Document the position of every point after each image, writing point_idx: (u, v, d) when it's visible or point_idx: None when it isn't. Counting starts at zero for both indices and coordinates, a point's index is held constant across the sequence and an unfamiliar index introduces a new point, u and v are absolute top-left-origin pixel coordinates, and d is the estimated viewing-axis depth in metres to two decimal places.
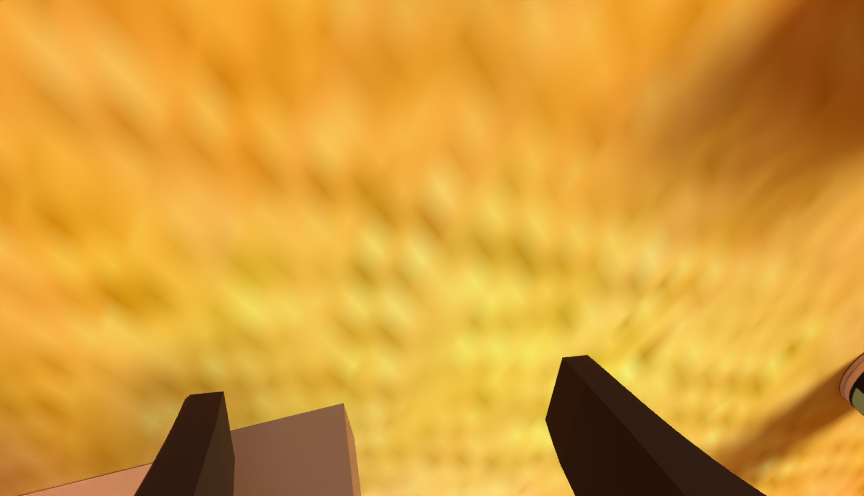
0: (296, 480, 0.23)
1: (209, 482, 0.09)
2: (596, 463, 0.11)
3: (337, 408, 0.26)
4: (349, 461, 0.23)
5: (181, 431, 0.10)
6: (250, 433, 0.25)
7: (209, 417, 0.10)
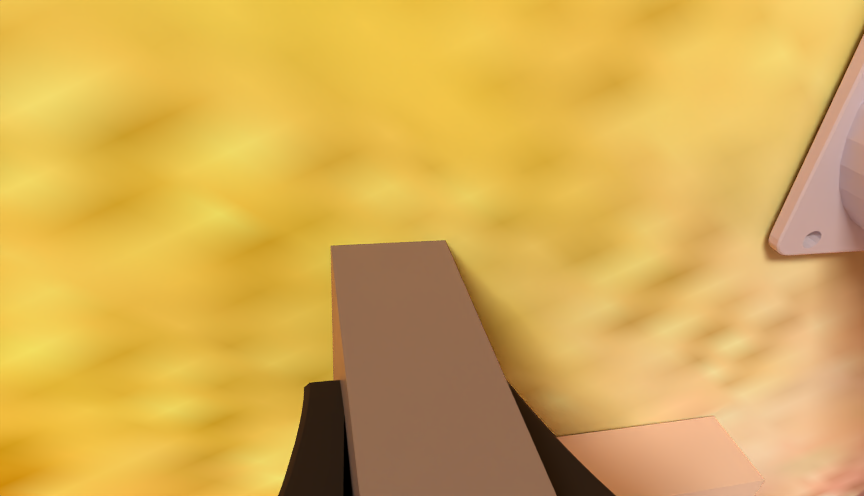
0: (344, 437, 0.11)
1: None
2: None
3: (331, 262, 0.12)
4: (345, 340, 0.10)
5: (313, 416, 0.10)
6: None
7: (335, 403, 0.10)
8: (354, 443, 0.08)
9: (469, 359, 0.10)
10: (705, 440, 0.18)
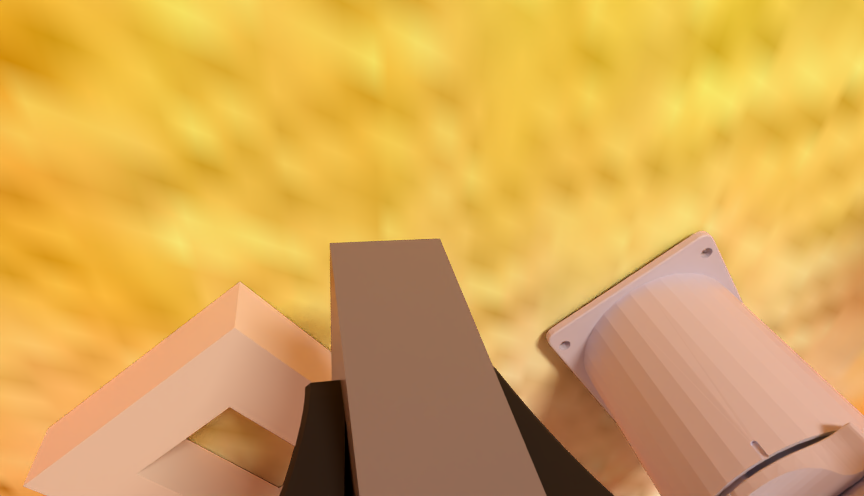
0: None
1: None
2: None
3: (330, 258, 0.13)
4: (343, 334, 0.10)
5: (314, 416, 0.10)
6: None
7: (336, 403, 0.10)
8: (352, 431, 0.09)
9: (461, 353, 0.10)
10: None
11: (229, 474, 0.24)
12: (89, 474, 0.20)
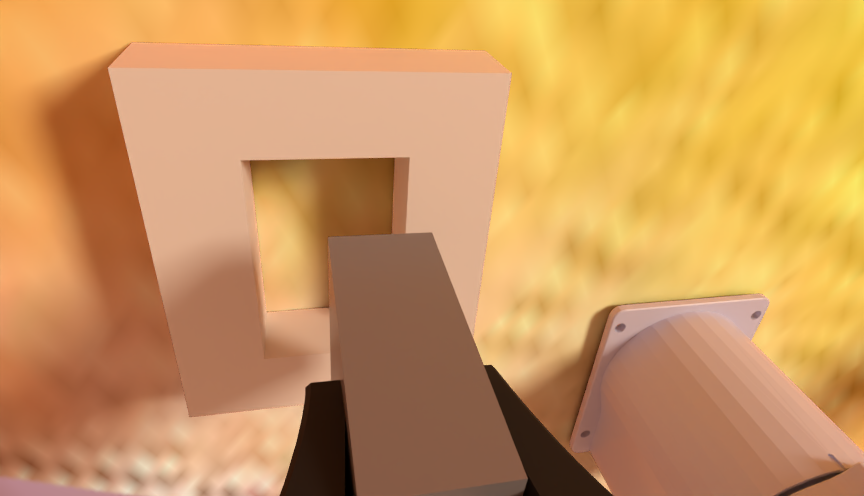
0: None
1: None
2: None
3: (328, 251, 0.14)
4: (340, 322, 0.11)
5: (314, 416, 0.10)
6: (331, 371, 0.16)
7: (336, 403, 0.10)
8: (348, 409, 0.09)
9: (449, 339, 0.11)
10: None
11: (258, 254, 0.19)
12: (195, 118, 0.14)
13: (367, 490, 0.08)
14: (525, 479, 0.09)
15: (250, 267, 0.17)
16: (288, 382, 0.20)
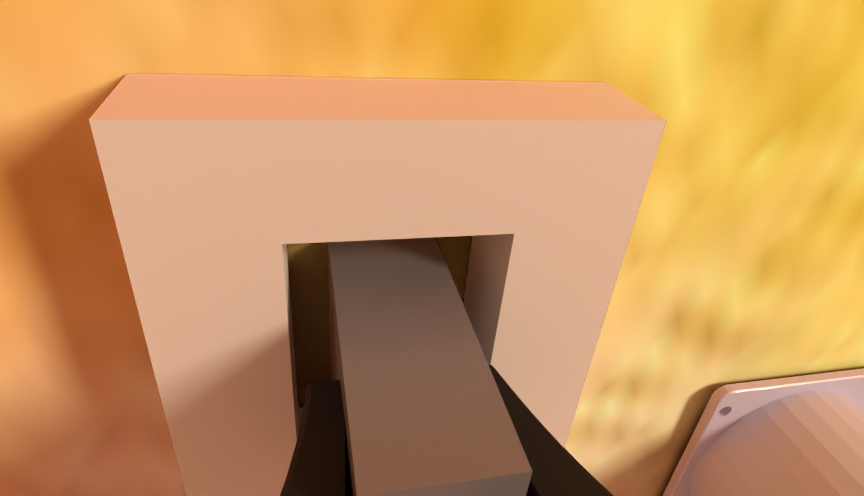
0: None
1: None
2: None
3: (328, 250, 0.13)
4: (339, 318, 0.11)
5: (314, 416, 0.10)
6: (331, 374, 0.15)
7: (336, 403, 0.10)
8: (347, 403, 0.09)
9: (450, 334, 0.11)
10: None
11: None
12: (220, 188, 0.10)
13: (367, 483, 0.08)
14: (530, 472, 0.08)
15: (287, 378, 0.12)
16: None
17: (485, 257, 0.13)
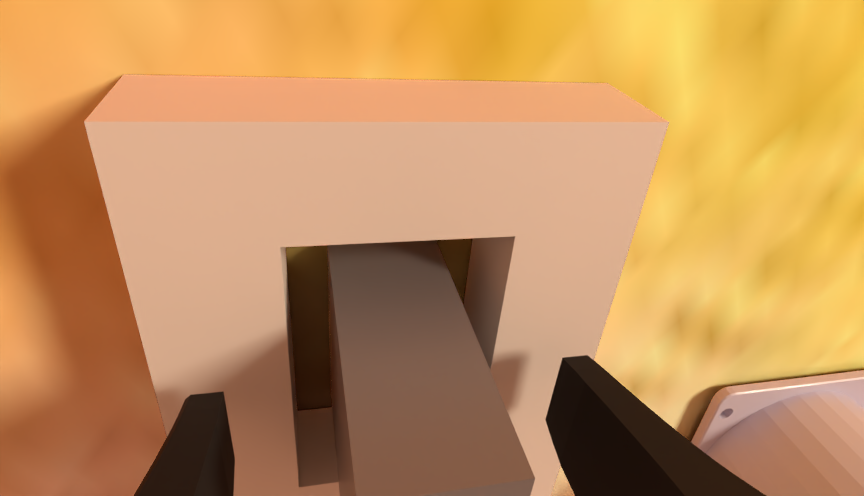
0: (338, 411, 0.12)
1: (209, 482, 0.09)
2: (596, 463, 0.11)
3: (327, 252, 0.13)
4: (339, 321, 0.11)
5: (181, 431, 0.10)
6: (331, 377, 0.15)
7: (209, 417, 0.10)
8: (346, 408, 0.09)
9: (451, 338, 0.11)
10: None
11: None
12: (217, 191, 0.09)
13: (367, 490, 0.08)
14: (532, 479, 0.08)
15: (286, 382, 0.12)
16: None
17: (485, 259, 0.13)
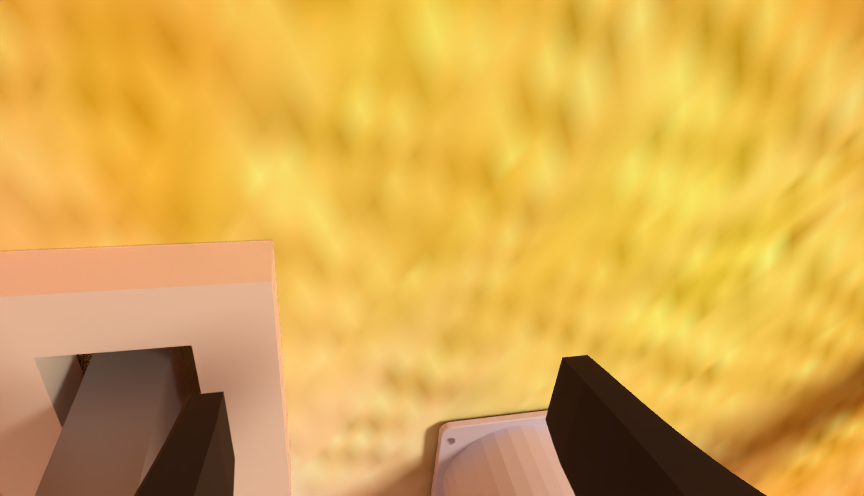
0: None
1: (209, 482, 0.09)
2: (596, 463, 0.11)
3: None
4: (76, 399, 0.18)
5: (181, 431, 0.10)
6: None
7: (209, 417, 0.10)
8: (51, 457, 0.16)
9: (141, 410, 0.18)
10: None
11: None
12: None
13: None
14: None
15: (60, 432, 0.19)
16: None
17: None
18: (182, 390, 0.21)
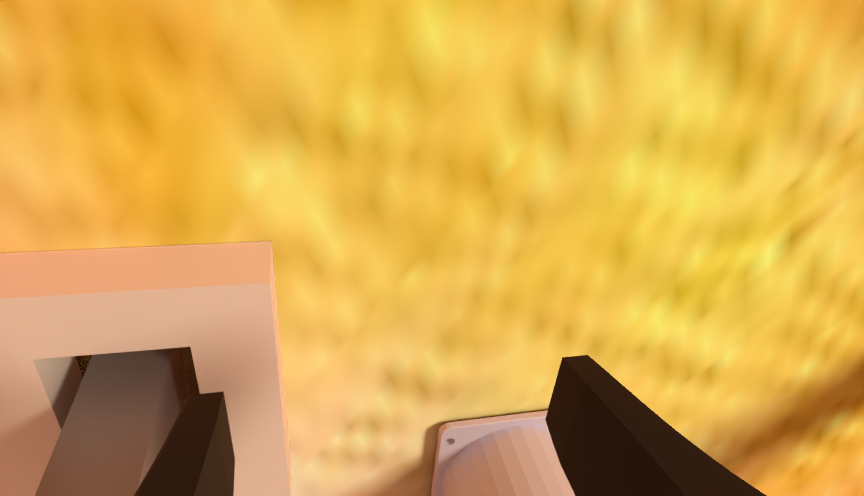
0: None
1: (209, 482, 0.09)
2: (596, 462, 0.11)
3: None
4: (75, 401, 0.18)
5: (181, 431, 0.10)
6: None
7: (209, 417, 0.10)
8: (50, 459, 0.16)
9: (139, 412, 0.18)
10: (289, 461, 0.25)
11: None
12: None
13: None
14: None
15: (59, 433, 0.19)
16: None
17: None
18: (181, 391, 0.21)
